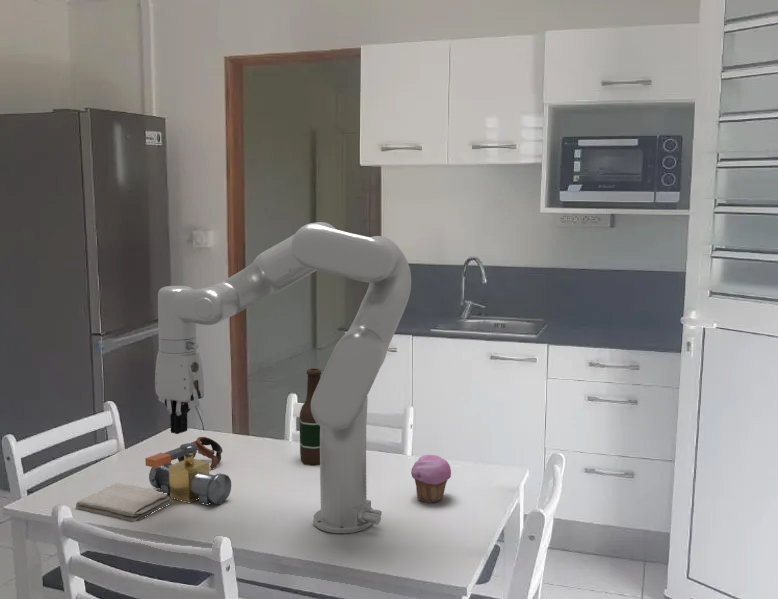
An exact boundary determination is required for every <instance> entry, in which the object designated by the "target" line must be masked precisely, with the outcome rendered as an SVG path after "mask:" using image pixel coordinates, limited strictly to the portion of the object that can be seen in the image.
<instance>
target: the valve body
mask: <svg viewBox="0 0 778 599" xmlns="http://www.w3.org/2000/svg"><path fill="white" fill-rule="evenodd" d="M148 480H149V484H150V485H151V486H152V488H153V487H154V489H155V488H156V489H160V492H163V493H167V494H170V495H169V498H170V497H171V498H175V499H178V500H177V501H179V500H182V501H186V502H191V503H193V502H192V501H194V500H196V499H198V498H199V499H198V503H199V502H200V503H204V504H209V503H211V504H215V505H216V504H217V505H220V504H223V503H225V502H226V501H227V499H228V497H229V496H230V494H231V491H232V480H231V478H230V476H229V475H228V474H224V473H221V472H220V473H216V474H215V475H214V474H210V462H208V461H204V460H200V459H196V458H193V454H192V455H185V456H184V460H183V461H181V462H179V461H178V462H176V463H174V464H172V461H171V462H170V463H167V464H165V465H162V466H159V467H157V468H153V467H150V470H149V474H148ZM171 498H170V499H171ZM175 499H174V500H175ZM182 501H181V502H182ZM196 501H197V500H196ZM186 502H185V503H186ZM194 502H195V501H194ZM200 503H199V504H200ZM204 504H203V505H204ZM209 505H210V504H209Z"/></svg>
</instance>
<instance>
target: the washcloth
mask: <svg viewBox="0 0 778 599" xmlns="http://www.w3.org/2000/svg"><path fill="white" fill-rule="evenodd" d="M170 503H171V504H172V503H173V501H172V500H171V498H170V496H168V495H167V494H164V493H161V491H158V490H156V489H155V487H154V488H153V487H149V488H148V487H142V486H139V485H134V484H127V483H121V482H119V483H117V482H116V483H113V484H111V485H109V486H106V487H105V488H103V489H102V490H101V491H98V492H97V493H92V494H90V495H88V496H85V497H84V498H82V499H80V500H78V501H77V502H76V504H75V508H76V509H77V510H81V511H86V512H90V513H96V514H98V515H99V514H100V515H103V516H108V515H109V516H108V517H113V518H118V517H119V518H118V519H121V518H123V519H122V520H125V519H128V520H127V521H129V520H131V521H130V522H133V521H136V522H137V521H138V520H137V519H139V520H141V519H140V518H142V519H144V518H143V517H145V516H147V515H149V514H151V513H152V512H154V511H156V510H158V509H159V508H162V507H164V506H166V505H168V504H170ZM171 504H170V505H171ZM168 506H169V505H168ZM151 515H152V514H151ZM149 516H150V515H149ZM147 517H148V516H147ZM145 518H146V517H145Z"/></svg>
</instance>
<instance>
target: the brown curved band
mask: <svg viewBox="0 0 778 599" xmlns="http://www.w3.org/2000/svg"><path fill="white" fill-rule="evenodd" d="M191 443H194V444H196V445H197V453H198V454H200V455H202V456H203V457H206V458H208V459H210V460H211V464H210V465H209V468H210V469H213V468H215V467H216V468H217V466H218V464H220V463H221V460H222V453H223V448H222V446H221V445H220V444H219V443H218V442H217V441H215V440H213V439H212V438H210V437H207V436H199V437H197V438H196V440H194V441H192V442H191ZM206 446H211V449H210V448H208V447H206ZM215 452H216V453H215ZM197 453H195V454H193V459H195V458H196V454H197ZM183 460H184V456H182V457H180V458H177V461H178V462H181V461H183ZM216 468H215V469H216ZM213 470H214V469H213Z"/></svg>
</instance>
